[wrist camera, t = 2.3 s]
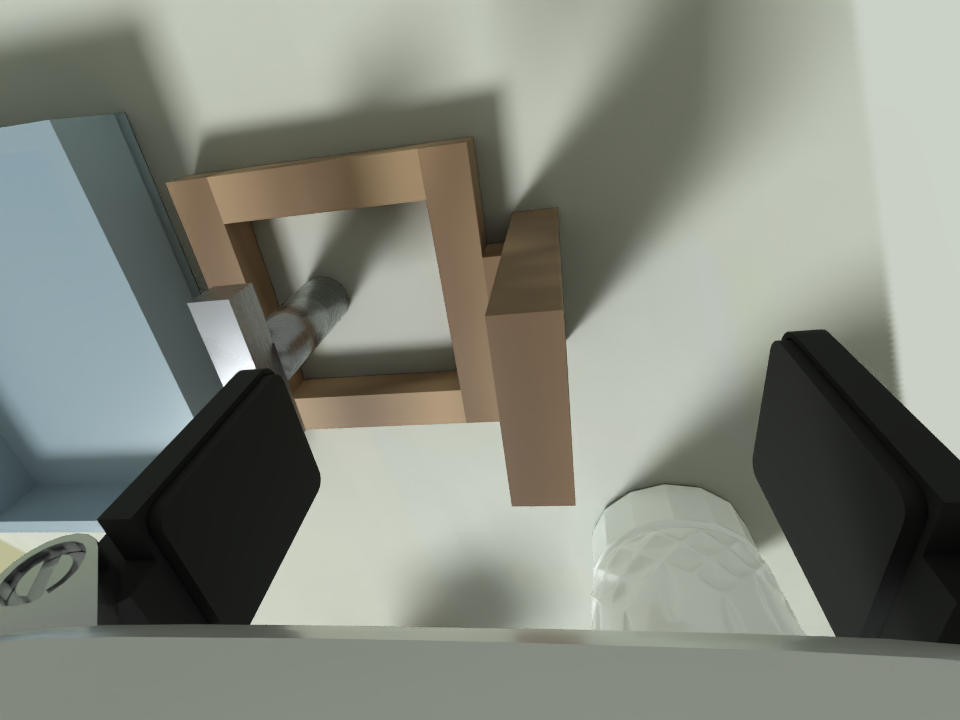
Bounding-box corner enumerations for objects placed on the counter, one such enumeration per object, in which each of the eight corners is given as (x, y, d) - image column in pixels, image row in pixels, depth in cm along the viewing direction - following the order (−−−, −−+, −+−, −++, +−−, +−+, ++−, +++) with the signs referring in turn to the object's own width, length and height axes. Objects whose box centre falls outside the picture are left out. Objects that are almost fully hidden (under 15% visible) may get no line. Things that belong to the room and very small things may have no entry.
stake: (329, 232, 18) (239, 298, 13) (363, 354, 21) (298, 453, 15) (283, 237, 19) (176, 304, 13) (321, 357, 21) (244, 454, 16)
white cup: (548, 551, 25) (547, 804, 16) (646, 443, 21) (711, 697, 13) (682, 613, 26) (748, 882, 17) (799, 520, 22) (956, 805, 14)
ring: (552, 125, 16) (554, 172, 9) (569, 396, 21) (580, 577, 13) (193, 174, 18) (-54, 246, 11) (283, 410, 23) (154, 572, 15)
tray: (124, 112, 17) (49, 119, 15) (279, 483, 25) (248, 531, 22) (-190, 164, 20) (-303, 178, 17) (41, 488, 27) (-13, 532, 25)
